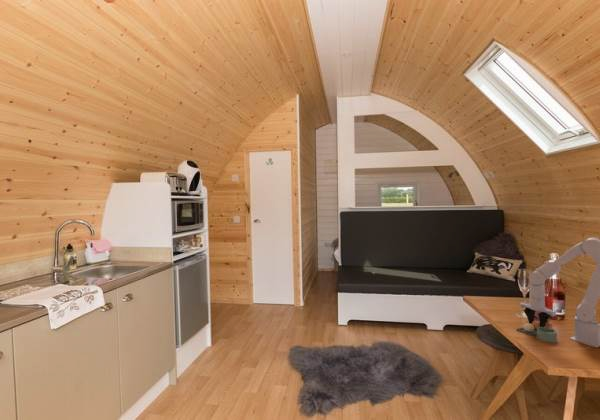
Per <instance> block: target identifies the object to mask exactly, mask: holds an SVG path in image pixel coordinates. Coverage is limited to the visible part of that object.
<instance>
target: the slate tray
mask: <svg viewBox="0 0 600 420" xmlns="http://www.w3.org/2000/svg"><path fill="white" fill-rule="evenodd" d="M516 331H517V332H521V333H522V334H525V335H529V336H532V337H533V336H534V337H535V336H537V330H536V329H534V330H533V331H532V332H527V331H525V330H524V328H523V326H522V327H519V328H516Z"/></svg>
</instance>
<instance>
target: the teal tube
mask: <svg viewBox="0 0 600 420" xmlns="http://www.w3.org/2000/svg"><path fill="white" fill-rule="evenodd" d="M536 338H537V339H538V340H539V341H542V342H546V343H557V342H558V332H557V330H556V329H554V328H551V327H546V326H545V327H537V335H536Z"/></svg>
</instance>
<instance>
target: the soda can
mask: <svg viewBox="0 0 600 420" xmlns="http://www.w3.org/2000/svg"><path fill="white" fill-rule="evenodd" d="M545 308H548V309H549V297H548V294H547V293H545ZM539 313H541V312H538V311H535V314H534V321H539V322H540V320H539V315H538V314H539Z"/></svg>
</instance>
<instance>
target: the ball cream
mask: <svg viewBox="0 0 600 420" xmlns="http://www.w3.org/2000/svg"><path fill="white" fill-rule="evenodd" d="M522 327H523V328H524V330H525V331H527V332H532V331H533V330H534V326H533V325H532V324H530V323H529V322H526V323H524V324H523V326H522Z"/></svg>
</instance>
